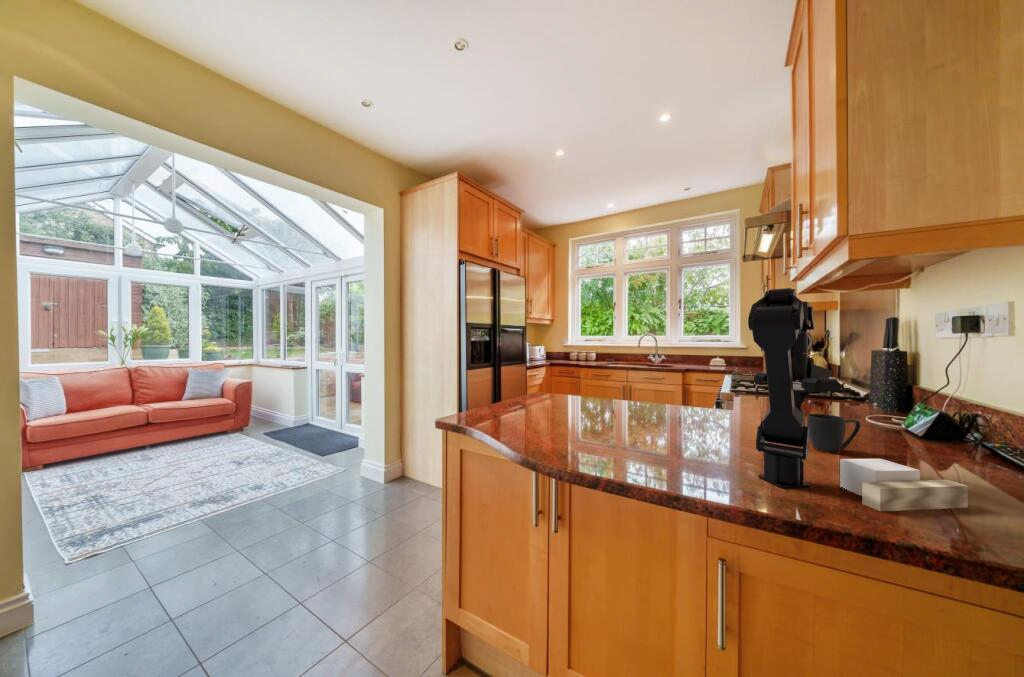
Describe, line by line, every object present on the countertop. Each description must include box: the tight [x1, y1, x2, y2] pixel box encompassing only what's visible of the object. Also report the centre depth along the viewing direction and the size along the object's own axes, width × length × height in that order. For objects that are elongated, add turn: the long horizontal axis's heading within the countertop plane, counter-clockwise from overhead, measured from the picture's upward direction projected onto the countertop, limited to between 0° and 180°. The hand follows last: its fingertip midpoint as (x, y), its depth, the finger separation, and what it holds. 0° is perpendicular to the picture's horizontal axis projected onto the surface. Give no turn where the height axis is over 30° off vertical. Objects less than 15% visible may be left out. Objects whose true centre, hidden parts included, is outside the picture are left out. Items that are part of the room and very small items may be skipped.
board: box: [861, 479, 969, 512], centre depth 67 cm, size 18×3×4 cm, turn 96°
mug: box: [806, 413, 861, 454], centre depth 101 cm, size 8×12×10 cm
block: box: [839, 458, 921, 497], centre depth 72 cm, size 9×7×6 cm
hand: (793, 416), depth 89 cm, fingers closed
